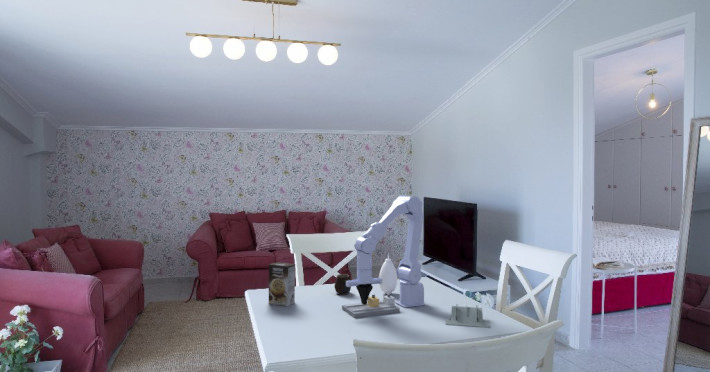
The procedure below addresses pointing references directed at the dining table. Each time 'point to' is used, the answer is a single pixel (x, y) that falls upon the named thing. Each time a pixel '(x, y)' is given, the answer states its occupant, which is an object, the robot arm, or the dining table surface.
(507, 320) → the dining table surface
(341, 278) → the mate gourd
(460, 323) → the metal bracket
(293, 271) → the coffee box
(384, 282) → the white air blower bulb
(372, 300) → the slider
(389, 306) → the gauge plate
